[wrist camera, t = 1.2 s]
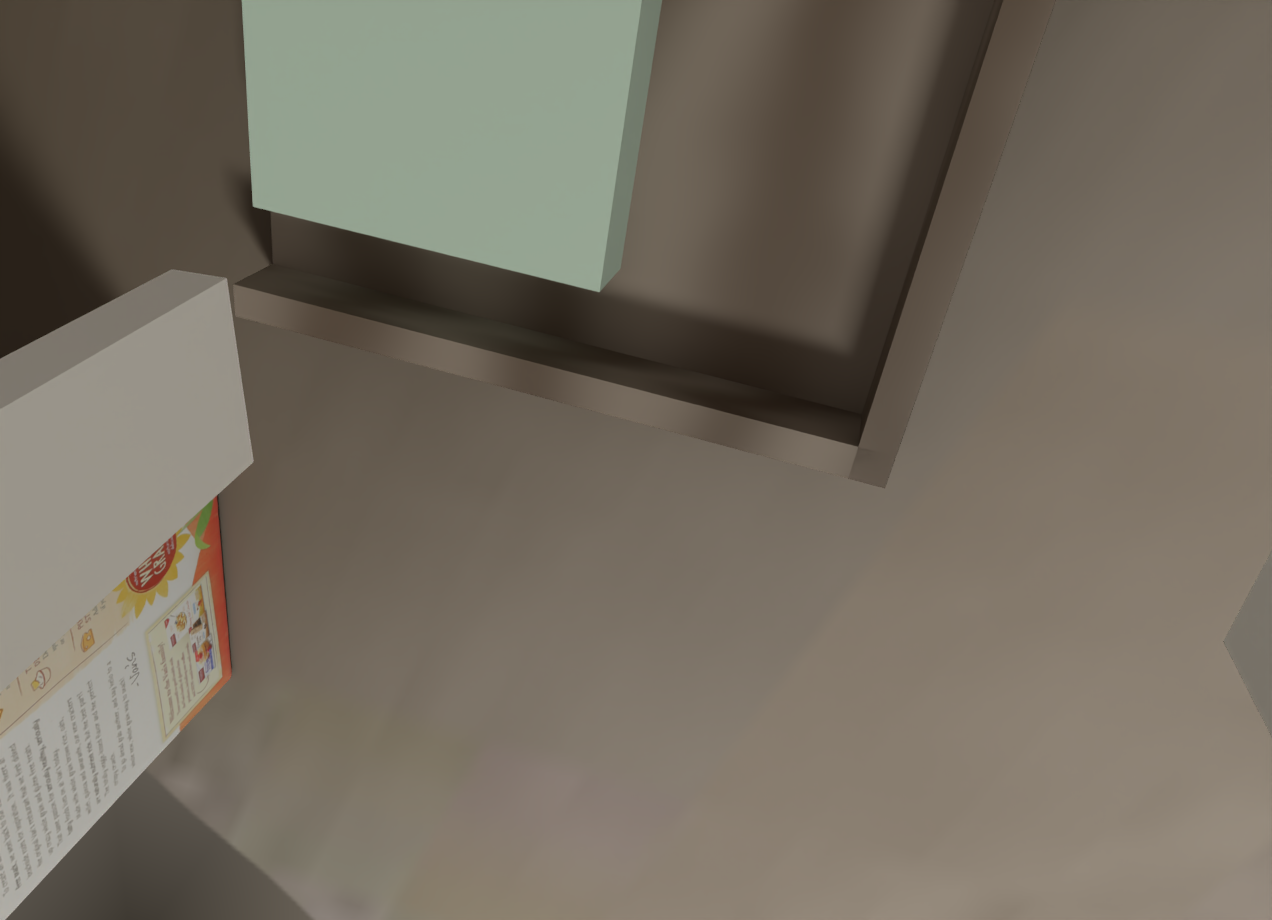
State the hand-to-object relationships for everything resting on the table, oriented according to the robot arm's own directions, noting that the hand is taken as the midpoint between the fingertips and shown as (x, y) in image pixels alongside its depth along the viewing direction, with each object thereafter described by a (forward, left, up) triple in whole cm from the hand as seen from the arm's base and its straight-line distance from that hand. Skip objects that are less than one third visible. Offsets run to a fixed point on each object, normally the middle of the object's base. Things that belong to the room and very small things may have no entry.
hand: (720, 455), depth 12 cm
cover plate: (+12, -1, -19) cm, 23 cm away
